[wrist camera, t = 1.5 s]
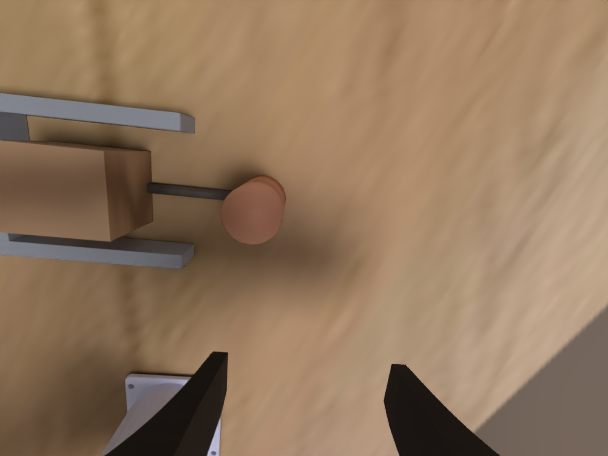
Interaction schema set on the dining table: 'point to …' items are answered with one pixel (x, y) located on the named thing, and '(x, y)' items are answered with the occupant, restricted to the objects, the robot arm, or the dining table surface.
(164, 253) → the grey u-shaped bracket
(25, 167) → the tethered block
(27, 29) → the dining table surface
